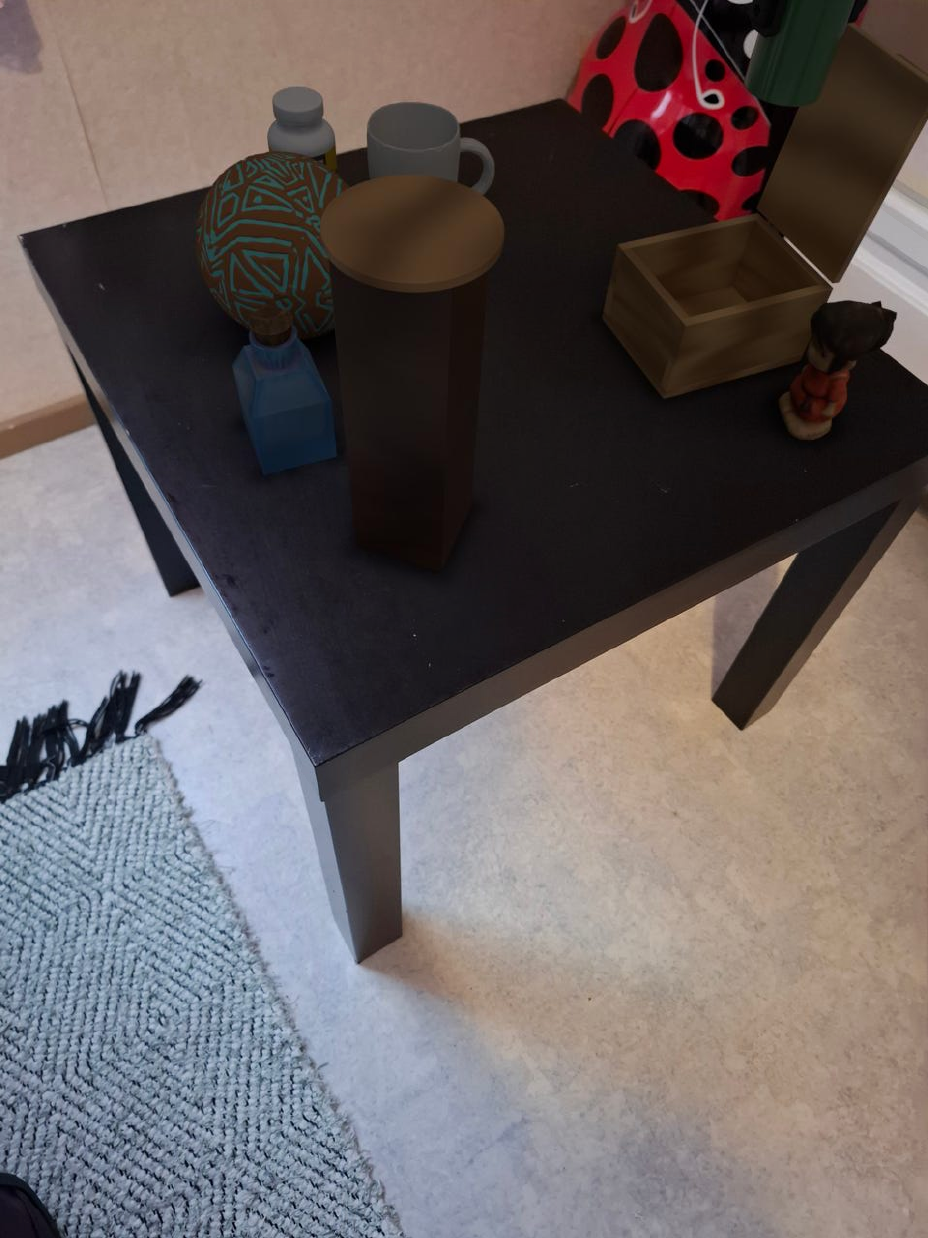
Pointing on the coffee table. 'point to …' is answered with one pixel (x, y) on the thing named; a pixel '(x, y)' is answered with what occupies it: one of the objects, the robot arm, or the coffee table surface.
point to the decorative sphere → (269, 239)
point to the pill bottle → (302, 126)
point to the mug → (421, 144)
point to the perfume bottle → (282, 395)
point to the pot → (798, 53)
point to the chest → (712, 303)
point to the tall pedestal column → (410, 354)
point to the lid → (846, 151)
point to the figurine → (832, 363)
